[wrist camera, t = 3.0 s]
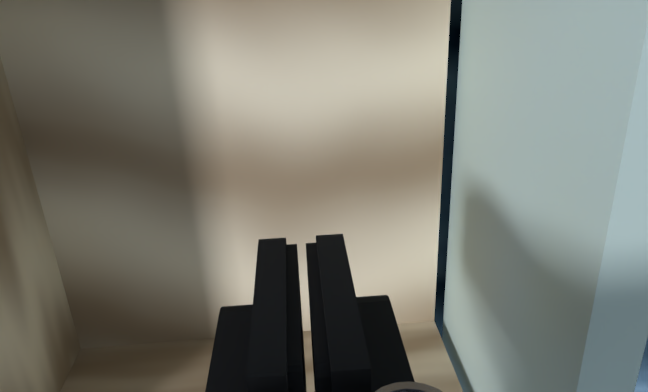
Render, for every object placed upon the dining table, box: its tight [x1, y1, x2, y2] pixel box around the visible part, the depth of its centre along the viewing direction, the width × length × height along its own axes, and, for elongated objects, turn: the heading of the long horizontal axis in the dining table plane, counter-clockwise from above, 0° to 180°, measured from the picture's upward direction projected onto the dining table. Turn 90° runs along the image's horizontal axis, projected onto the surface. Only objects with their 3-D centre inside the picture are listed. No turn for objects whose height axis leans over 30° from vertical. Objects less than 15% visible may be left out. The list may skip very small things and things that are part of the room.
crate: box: [0, 0, 463, 392], centre depth 16 cm, size 16×14×7 cm
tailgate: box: [442, 0, 648, 392], centre depth 14 cm, size 16×1×9 cm, turn 2°
